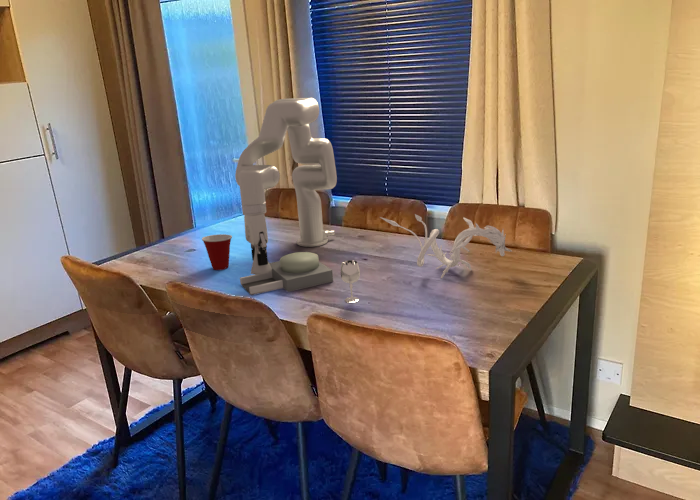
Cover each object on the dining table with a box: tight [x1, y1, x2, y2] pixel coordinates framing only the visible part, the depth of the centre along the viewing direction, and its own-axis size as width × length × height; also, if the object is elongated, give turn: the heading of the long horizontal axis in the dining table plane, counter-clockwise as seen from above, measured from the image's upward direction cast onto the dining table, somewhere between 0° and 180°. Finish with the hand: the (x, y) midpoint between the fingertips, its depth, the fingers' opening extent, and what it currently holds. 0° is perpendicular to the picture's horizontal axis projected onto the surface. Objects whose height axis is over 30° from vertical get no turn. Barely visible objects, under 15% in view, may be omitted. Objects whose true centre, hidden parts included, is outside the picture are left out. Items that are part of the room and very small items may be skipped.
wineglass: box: [340, 259, 361, 304], centre depth 174 cm, size 6×6×12 cm
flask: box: [250, 242, 272, 275], centre depth 189 cm, size 7×7×10 cm
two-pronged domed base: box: [239, 251, 334, 296], centre depth 194 cm, size 27×20×7 cm
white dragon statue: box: [379, 213, 512, 279], centre depth 188 cm, size 43×20×25 cm, turn 65°
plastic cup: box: [201, 233, 233, 271], centre depth 211 cm, size 11×11×12 cm
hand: (260, 261), depth 189 cm, fingers closed on flask, 5 cm apart
